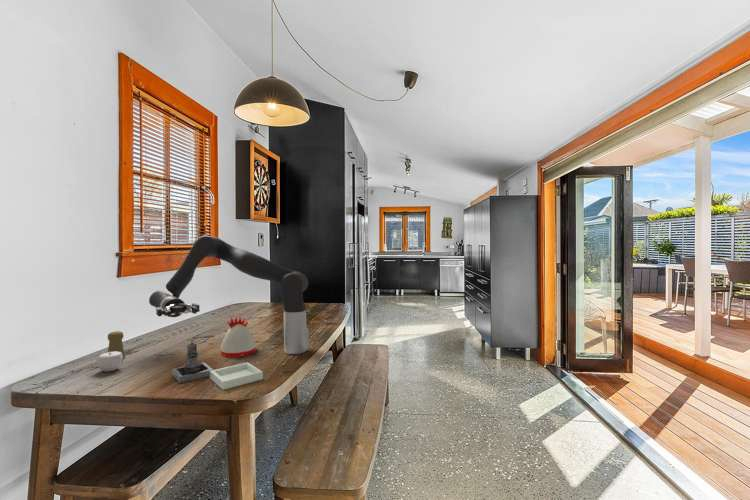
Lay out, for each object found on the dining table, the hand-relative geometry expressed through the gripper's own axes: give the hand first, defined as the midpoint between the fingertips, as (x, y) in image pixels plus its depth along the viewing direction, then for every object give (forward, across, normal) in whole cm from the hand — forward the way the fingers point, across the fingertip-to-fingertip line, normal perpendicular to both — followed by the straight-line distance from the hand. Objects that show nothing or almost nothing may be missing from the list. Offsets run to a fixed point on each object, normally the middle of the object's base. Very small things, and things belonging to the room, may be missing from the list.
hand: (183, 312), depth 133 cm
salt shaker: (+11, 0, +20) cm, 23 cm away
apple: (-15, -20, +21) cm, 33 cm away
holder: (+11, 0, +20) cm, 23 cm away
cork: (-29, -17, +21) cm, 40 cm away
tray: (+25, +10, +20) cm, 34 cm away
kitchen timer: (-5, +22, +21) cm, 31 cm away
